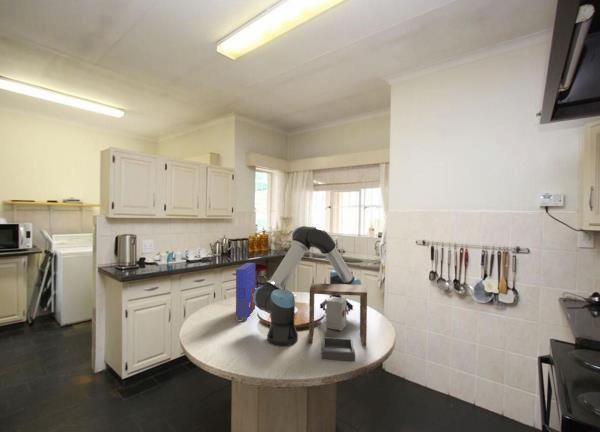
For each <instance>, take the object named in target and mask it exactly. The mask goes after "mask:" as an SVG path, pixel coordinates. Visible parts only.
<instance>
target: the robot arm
mask: <svg viewBox="0 0 600 432" xmlns="http://www.w3.org/2000/svg"><path fill="white" fill-rule="evenodd" d="M290 243H291V246H290V248H289V250H288V251H287V253H286V254H285V256H284V258H283V259H282V260H281V262H280V264H279V265H278V267H277V269H276V270H275V271H274V274H273V275H272V277H271V278H270V280H266V281H265V283H264V284H263V285H261V286H259V287H257V288H255V292H254V295H253V301H254V304H255V308H258V309H259V310H260V311H263V312H266V313H268V314H270V326H269V329H268V331H267V335H266V337H267V338H266V341H267V343H268V344H270V343H271V344H270V345H272V346H276V345H277V346H276V347H285V346H286V347H288V346H292V345H294V344H295V343H297V342H298V340H299V339H298V336H299V335H298V331H297V328H296V323H295V311H296V310H295V309H296V307H295V305H296V304H295V303H296V299H295V294H294V293H293V292H292V291H290V290H288V289H284V288H285V286H286V285H287V283H288V281H289V280H290V278H291V276H292V274H294V271H295V270H296V268H297V266H299V263H300V261H301V259H302V258H303V256H304V255H305V254H306V253H307V254H308V253H309V251H310V250H311V248H315V249H318V250H319V251H320V253H321V254H322V255H324V256H325V257H326V259H327V261H328V262H329V263H330V266H332V268H333V270H331V271H330V273H329V274H330V275H329V284H349V285H362V282H361V279H360V278H357V277H354V275H353V273H352V272H351V270H350V268H349V266H348V265H347V263H346V262H345V260H344V259H343V257H342V255H341V254H340V252H339V250H338V248H337V247H336V242H335V241H334V239H333V238H332V237H331V235H330V234H329V233H328V232H327V231H326V230H324V229H323V228H321V227H317V226H305V225H302V226H298V227H296V228H295V229H293V231H292V234H291V241H290ZM342 296H343V295H332V294H329V298H331V297H338V298H343V297H342ZM327 300H328V299H324V301H322V302H321V303H320V304H319V309H322V311H324V314H325V315H326V301H327ZM353 308H354V305H353V304H351V303H350V302H349V301H348V300H347V299H346V316H347V315H349V312H350V311H353V310H354V309H353Z"/></svg>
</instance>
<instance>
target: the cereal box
mask: <svg viewBox="0 0 600 432" xmlns="http://www.w3.org/2000/svg"><path fill="white" fill-rule="evenodd" d="M235 269H236V268H235ZM255 290H256V262H246V263H244V264H243V265H241V266H239V267H238V268H237V269H236V270H235V321H236V320H242V321H241V322H246V321H247V320H248V319H249V318H250V316H251V315H252V314H251V313H253V312H254V311H255V309H256V306H255V304H254V301H253V295H254V292H255ZM253 310H254V311H253ZM250 314H251V315H250ZM248 317H249V318H248ZM247 318H248V319H247Z"/></svg>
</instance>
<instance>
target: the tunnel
mask: <svg viewBox="0 0 600 432" xmlns="http://www.w3.org/2000/svg"><path fill="white" fill-rule="evenodd" d="M330 294H332V295H341V296H360V297H359V298H360V299H359V300H360V302H359V336H360V340H361V343H362V347H367V336H368V335H367V331H368V330H367V328H368V325H367V324H368V321H367V319H368V291H367V289H366V288H365V285H364V284H361V285H349V284H330V283H320V282H319V283H316V282H312V283H311V284H310V287H309V300H308V301H309V303H308V304H309V305H308V308H309V310H308V315H309V316H308V319H309V321H308V344H313V340H314V335H315V334H314V333H315V295H330Z"/></svg>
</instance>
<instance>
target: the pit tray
mask: <svg viewBox="0 0 600 432" xmlns="http://www.w3.org/2000/svg"><path fill="white" fill-rule="evenodd" d="M321 345H322V346H321V360H325V361H326V360H327V361H339V362H341V361H342V362H356V351H355V346H354V340H353V338H345V337H330V336H329V337H326V336H323V337H322V344H321Z"/></svg>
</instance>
